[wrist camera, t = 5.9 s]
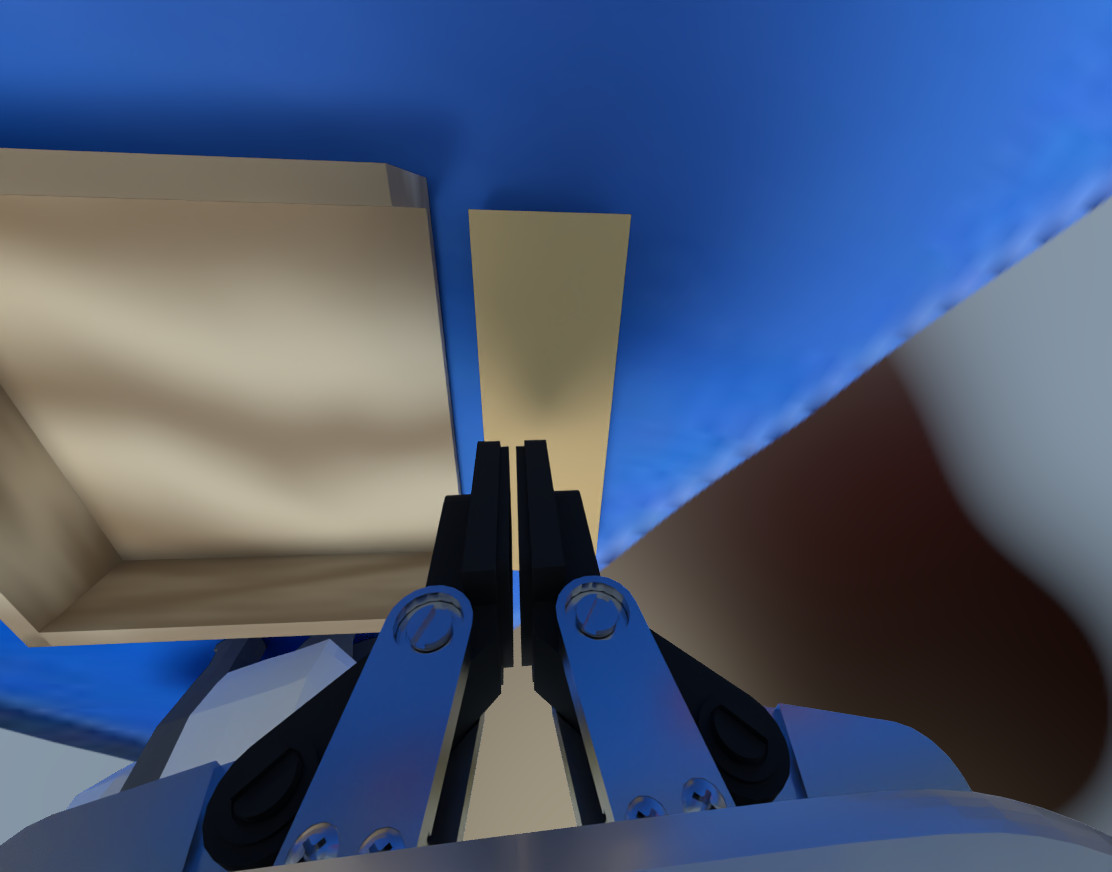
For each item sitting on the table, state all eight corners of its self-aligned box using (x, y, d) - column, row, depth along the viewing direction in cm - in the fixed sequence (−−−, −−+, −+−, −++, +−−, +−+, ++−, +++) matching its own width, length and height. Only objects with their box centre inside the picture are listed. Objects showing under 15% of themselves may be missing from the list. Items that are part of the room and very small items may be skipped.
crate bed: (-165, 156, 11) (-491, 129, 7) (426, 177, 12) (385, 162, 8) (122, 565, 18) (28, 647, 15) (468, 554, 20) (455, 628, 16)
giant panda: (363, 586, 20) (249, 848, 12) (420, 646, 23) (359, 894, 15) (133, 666, 22) (-106, 941, 14) (210, 713, 25) (49, 968, 16)
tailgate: (468, 209, 11) (631, 214, 11) (477, 209, 12) (625, 214, 12) (493, 569, 18) (594, 573, 18) (497, 549, 19) (592, 553, 19)
